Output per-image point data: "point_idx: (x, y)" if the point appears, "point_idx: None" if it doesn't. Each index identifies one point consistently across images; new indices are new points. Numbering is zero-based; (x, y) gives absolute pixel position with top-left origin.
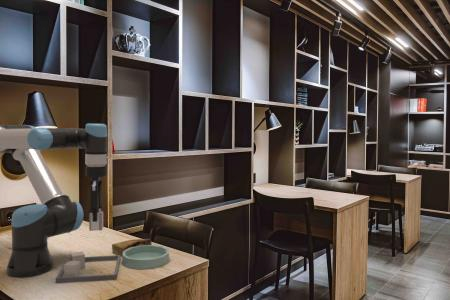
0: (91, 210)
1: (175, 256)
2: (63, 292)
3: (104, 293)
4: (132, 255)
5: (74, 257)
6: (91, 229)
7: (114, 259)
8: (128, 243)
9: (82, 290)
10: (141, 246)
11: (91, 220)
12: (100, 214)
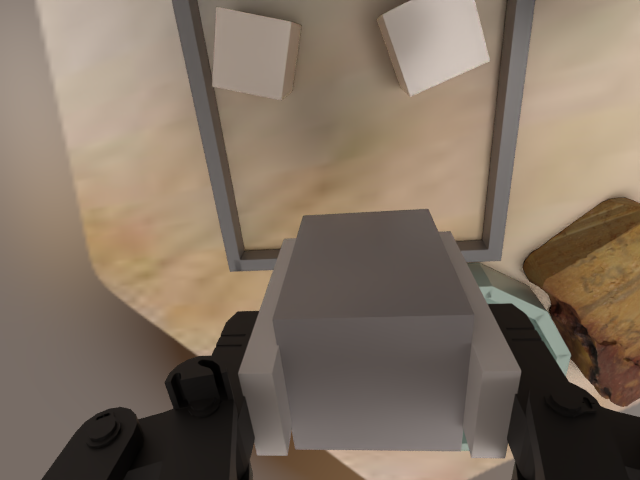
0: (82, 447)
1: None
2: (80, 65)
3: (102, 236)
4: None
5: (386, 29)
6: (282, 245)
7: (484, 225)
8: (607, 308)
9: (114, 147)
10: (555, 358)
11: (264, 299)
12: (292, 433)
